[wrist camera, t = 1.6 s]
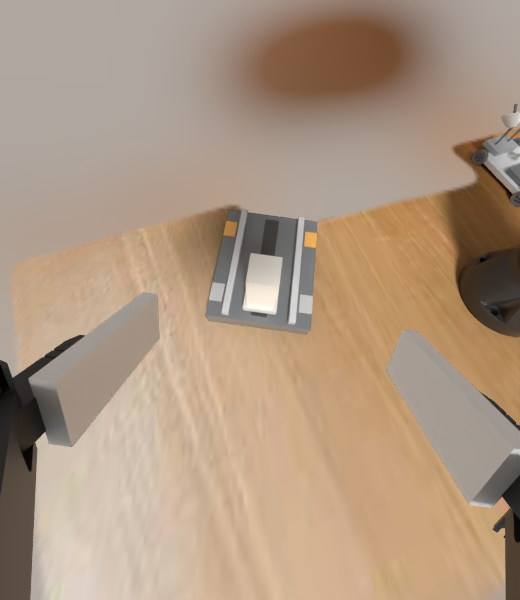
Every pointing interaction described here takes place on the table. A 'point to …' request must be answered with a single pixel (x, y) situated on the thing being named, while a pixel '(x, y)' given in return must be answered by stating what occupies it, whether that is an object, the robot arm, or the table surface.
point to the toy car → (504, 157)
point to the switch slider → (262, 283)
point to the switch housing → (274, 242)
